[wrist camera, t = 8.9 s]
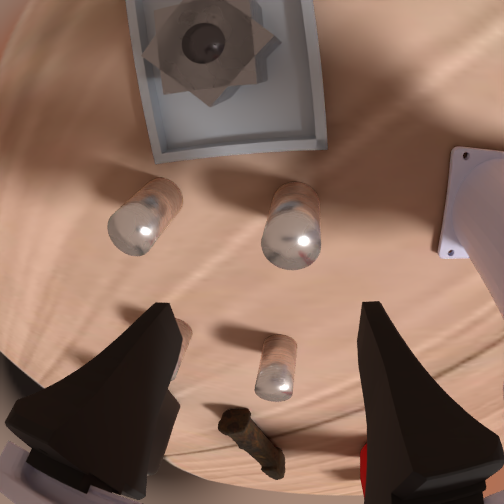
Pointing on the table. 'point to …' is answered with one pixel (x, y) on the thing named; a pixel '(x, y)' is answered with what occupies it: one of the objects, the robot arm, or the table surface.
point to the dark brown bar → (253, 441)
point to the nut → (210, 47)
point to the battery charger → (162, 431)
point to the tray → (238, 93)
